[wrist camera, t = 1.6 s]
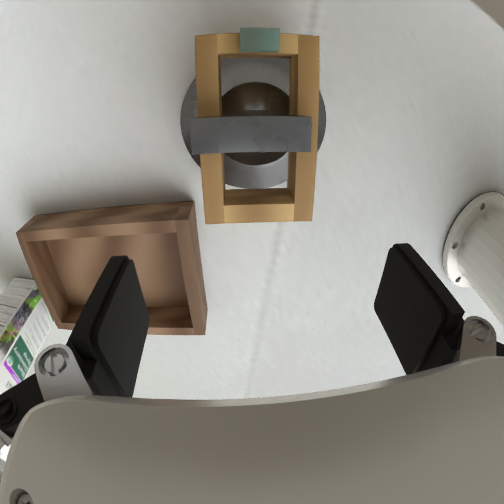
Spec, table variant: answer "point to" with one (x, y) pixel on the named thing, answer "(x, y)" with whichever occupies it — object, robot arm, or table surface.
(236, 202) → the light wooden frame
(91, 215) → the tray
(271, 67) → the door handle
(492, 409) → the robot arm
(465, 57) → the table surface
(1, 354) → the syrup box
